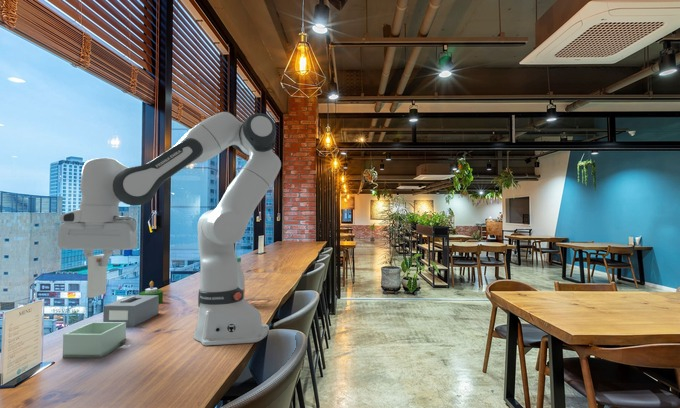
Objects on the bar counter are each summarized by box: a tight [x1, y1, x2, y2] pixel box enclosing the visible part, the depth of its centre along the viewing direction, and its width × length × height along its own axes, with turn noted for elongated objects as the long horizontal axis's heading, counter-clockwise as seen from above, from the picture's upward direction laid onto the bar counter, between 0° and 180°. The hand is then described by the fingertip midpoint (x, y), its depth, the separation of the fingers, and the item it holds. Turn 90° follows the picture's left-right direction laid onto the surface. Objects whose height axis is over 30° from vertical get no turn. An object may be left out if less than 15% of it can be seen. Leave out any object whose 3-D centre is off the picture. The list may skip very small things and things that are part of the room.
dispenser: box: [102, 294, 160, 328], centre depth 114 cm, size 10×14×9 cm
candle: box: [139, 280, 164, 305], centre depth 138 cm, size 8×8×10 cm
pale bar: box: [86, 253, 108, 299], centre depth 93 cm, size 2×5×11 cm, turn 179°
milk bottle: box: [236, 256, 246, 300], centre depth 135 cm, size 8×8×20 cm
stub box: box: [62, 321, 127, 359], centre depth 92 cm, size 10×10×6 cm
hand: (97, 265), depth 93 cm, fingers closed on pale bar, 2 cm apart
